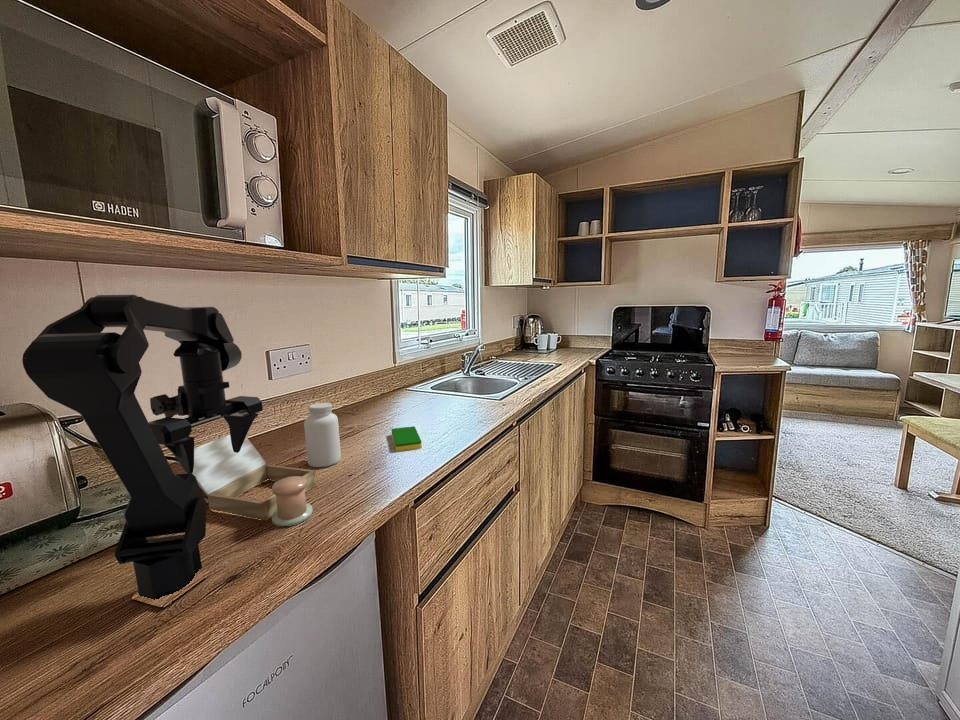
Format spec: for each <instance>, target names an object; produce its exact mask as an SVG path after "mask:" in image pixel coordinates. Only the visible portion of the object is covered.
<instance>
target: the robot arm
mask: <svg viewBox="0 0 960 720" xmlns="http://www.w3.org/2000/svg"><path fill="white" fill-rule="evenodd" d="M105 328H123V329H124V328H125V329H124V331H122V334H120V333H117V332H115V331H114V332H113V331H112V332H109V331H108V332H103V331H104V329H105ZM145 331H153V332H161V333H164V336H165V337H166V338H169V339H171V340H174V341H177V342H178V343H179V344H180V345H179V346H178V347H177V348H176V349H175V350H174V352H173V357H175V358H177V357H178V358H179V362H180V363H179V364H180V369H181V376H182V385H178V388H177V395H174V396H172V397H170V396H168V395H167V394H165V393H164V394H160V395H155V396H152V397H151V398H149V404H150V410H151V411H152V414H153V415H155V416H161V415H163V414H164V416H165V417H161V418H158V419H155V420H151V421H148V419H147V416H146V415H145V413H144V411H143V409H142V406H141V405H140V403H139V401H138V398H137V396H136V394H135V392H136V389H137V387H138V384H139V380H140V378H141V376H142V373H143V372H142V368H141V364H140V362H141V360H142V359H143V356H144V355H145V353H146V351H147V350H148V348H149V345H150V343H149V341H148V339H147V337H146V334H145ZM234 341H235V340H234V336H233V335H232V333H231V331H230V328H229V326H228V324H227V322H226V320H225V318H224V316H223V314H222V313H220V311H219V309H217V308H216V307H214V306H188V307H187V306H186V307H185V306H183V307H181V306H176V305H172V304H167V303H163V302H159V301H156V300H151V299H146V298H144V297H143V296H138V295H136V294H97V295H95V296H92V297H89V298H88V299H87V300H86V301H85V303H83V305H81V307H80V308H78V309H77V310H75V311H73V312H71V313H69V314H67V315H65V316H63V317H61V318H59V319H57V320H55V321H54V322H51V323H49V324H48V325H47V326H46V327H45V328H44V329H43V330H42V331H41V332H40V333H39V334H38V336H36V337H35V338H34V340H32V342H31V343H30V344H29V345H28V346H27V348H26V349H25V351H24V352H23V353H22V360H21V361H22V362H21V363H22V367H23V369H24V371H25V374H26V375H27V376H28V378H29V379H30V380H31V381H32V382H33V384H34V385H35V386H37V388H38V389H40V391H41V392H42V393H43V394H44V395H45V397H47V398H48V399H49V400H52V401H55V402H56V403H58V404H60V405H62V406H64V407H66V408H68V409H70V410H72V411H75V412H77V414H79V415H80V416H81V417H82V419H83V420H84V422H85V425H86V426H87V427H88V429H89V431H90V432H91V434H92V435H93V437H94V439H95V440H96V442H97V444H98V446H99V447H100V448H101V450H102V452H103V453H104V455H105V457H106V459H107V460H108V462H109V463H110V465H111V467H112V469H113V470H114V471H115V473H116V475H117V476H118V478H119V480H120V481H121V483H122V485H123V486H124V488H125V490H126V491H127V493H128V495H129V500H128V503H127V505H126V508H125V510H124V512H123V517H124V519H125V524H124V526H123V528H122V533H121V534H120V537H119V540H118V542H117V546H116V549H115V551H114V557H115V559H116V560H117V562H118V564H119V565H125V564H127V563H132V565H133V570H134V575H135V581H136V587H137V592H138V593H139V595H140V596H144V597H147V598H151V599H154V600H155V599H159V598H160V597H162V596H165V595H169V594H173V593H174V592H176V591H179V590H180V589H182V588H183V587H185V586H186V585H187V584H189V583H190V581H192V579H193V578H194V576H195V573H197V572H198V571H199V569H201V568H203V566H202V560H201V552H200V545H199V544H200V543H201V542H202V541H203V540H204V538H205V537H206V532H207V509H208V508H207V507H208V506H207V501H206V498H204V496H203V494H202V493H203V492H204V491H203V490H202V488H201V487H200V486H199V484H198V483H197V479H196V477H195V476H194V475H193V474H192V473H193V469H194V448H195V436H190V435H191V433H192V431H193V429H192V428H195V427H197V426H201V425H204V424H207V423H210V422H213V421H215V420H219V419H222V418H223V419H224V420H225V422H226V423H227V424H228V428H229V429H228V430H229V435H230V437H231V444H232V448H233V451H234V452H236V453H238V452H240V449H241V447H242V445H243V442H244V440H245V437H247V434H248V432H249V430H250V428H251V427H252V425H253V422H254V421H255V419H256V418H258V416H259V414H258V413H260V412H263V410H264V409H263V402H262V400H261V399H260V398H259V397H258V396H246V395H245V396H244V395H238V396H234V397H232V398H229V399H226V393H225V389H229V388H230V382H229V381H224V376H223V372H226V371H227V370H230V369H232V368H234V367H236V366H238V364H240V362H241V360H242V356H243V355H242V354H243V353H242V351H241V349H240V347H239V346H238V345H237V344H236V343H234ZM177 415H178V416H179V417H180V418H178V417H174V416H177ZM183 416H186V417H184V418H181V417H183ZM161 445H163V446H164V447H165V448H167V449H168V450H169V451H170V452H171V453H172V455H174V457H175V459H176V460H177V462H178V464H180V466H181V467H182V469H183V470H184V472H185V473H180V474H179V473H178V474H175V473H174V472H173V470H172V467H171V466H170V462H169V461H168V459H167V458H166V456H165V453H164V451H163V449H162V447H161ZM183 533H184V534H183ZM168 535H169V536H168ZM160 536H161V537H160ZM152 537H153V538H152ZM154 537H155V538H154ZM201 570H202V569H201Z"/></svg>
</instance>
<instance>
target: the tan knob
mask: <svg viewBox="0 0 960 720" xmlns="http://www.w3.org/2000/svg"><path fill="white" fill-rule="evenodd" d="M306 485H307V483H306V478H304V477H301V476H292V477H287V478H284V479H281V480H279V481H274V483H273V484H272V486H271V489H272V493H273V495H274V494H275V495H276V504H277V513H278V518H279V519H282V520H290V519H294V518H297V517H300V516H301V515H303V514H304V513H305V512H306V511H307V507H306V503H307V499H306V497H307V496H306V493H305V487H306Z"/></svg>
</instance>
